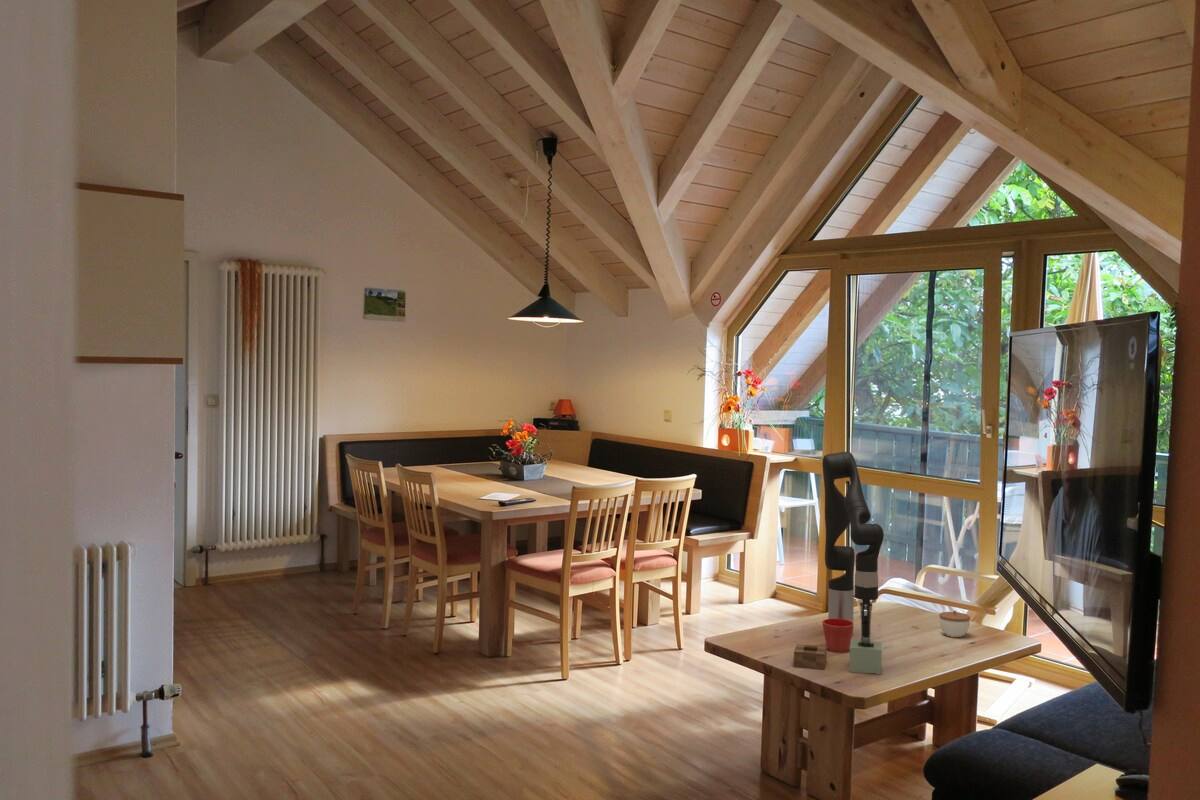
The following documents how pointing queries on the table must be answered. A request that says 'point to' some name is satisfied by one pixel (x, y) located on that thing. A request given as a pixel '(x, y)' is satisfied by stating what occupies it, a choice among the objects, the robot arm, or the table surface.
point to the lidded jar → (954, 623)
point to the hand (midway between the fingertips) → (865, 635)
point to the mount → (810, 656)
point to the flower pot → (838, 634)
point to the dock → (865, 657)
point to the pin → (865, 641)
